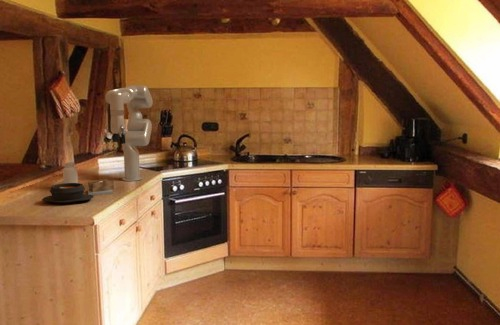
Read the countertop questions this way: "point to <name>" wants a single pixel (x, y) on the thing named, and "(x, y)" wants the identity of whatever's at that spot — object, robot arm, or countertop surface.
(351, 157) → the countertop surface
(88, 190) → the base
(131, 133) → the robot arm
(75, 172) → the pill bottle
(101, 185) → the wooden h-shaped stand
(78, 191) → the black low round piece
